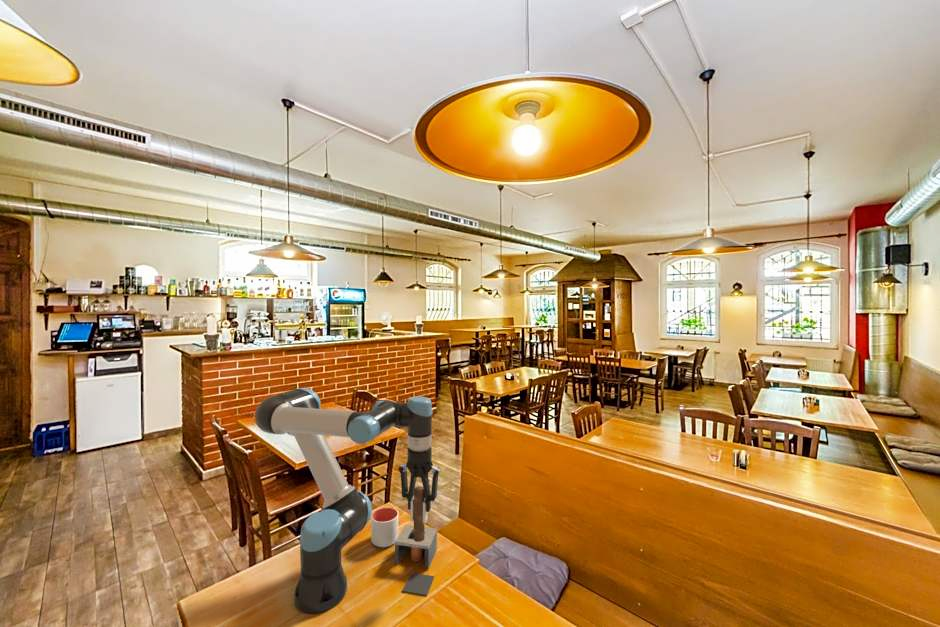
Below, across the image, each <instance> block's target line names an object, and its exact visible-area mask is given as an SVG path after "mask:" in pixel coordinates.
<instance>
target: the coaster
mask: <svg viewBox="0 0 940 627" xmlns="http://www.w3.org/2000/svg"><path fill="white" fill-rule="evenodd" d="M434 579H435V575H428V574H424V573H417V572H410V573H409V576H408V578H407V580H406V582H405V584H404V586H403V588H402V590H401V591H402V592H401V593H407V594H414V595H417V596H424V597H427V596H428V594H429V591H430V589H431V586H432V584H433V581H434Z"/></svg>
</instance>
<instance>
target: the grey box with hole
mask: <svg viewBox="0 0 940 627" xmlns="http://www.w3.org/2000/svg"><path fill="white" fill-rule="evenodd" d="M437 536H438V529H437V528H433V527H426V526H424V540H423V541H421V542H416V541H414V524H413V525H412V524H411V525H410V524H405V525H404V527H403V528H402V529H401V530H400V533H398V537H397V539H396V541H395V543H394V565H396V566H397V565H398V566H399V564H400V562H401V560H402V559H403V557H404V555H405V554H406V552H407V550H408V549H410V550H411V547H416V548H422V552H424V569H425V570H429V569H430V567H431V564H432V562H433V559H434V558H435V555H436V553H437V546H438V545H437V542H438V540H437V539H438V537H437Z"/></svg>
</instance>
